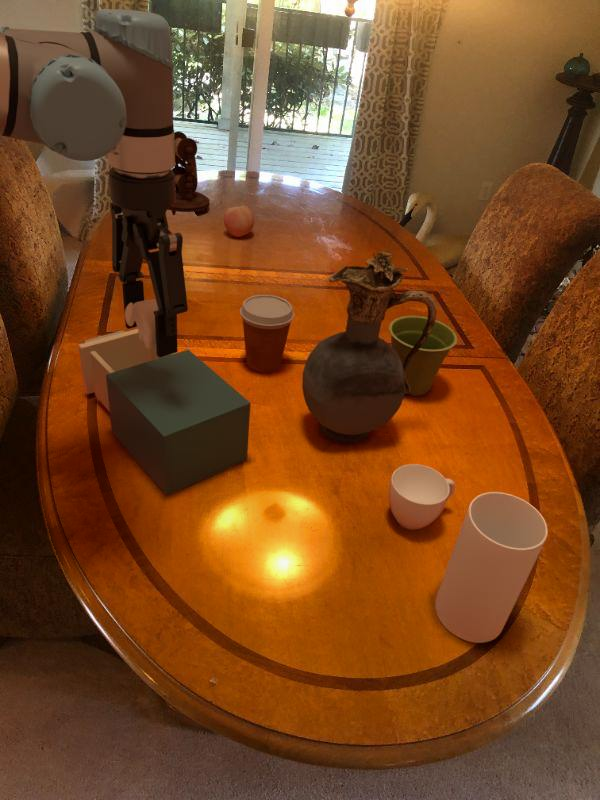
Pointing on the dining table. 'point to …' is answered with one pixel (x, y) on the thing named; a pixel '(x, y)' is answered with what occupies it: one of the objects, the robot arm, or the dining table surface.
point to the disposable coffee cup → (265, 331)
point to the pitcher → (362, 356)
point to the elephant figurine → (143, 320)
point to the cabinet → (178, 419)
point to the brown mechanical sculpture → (186, 177)
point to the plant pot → (421, 350)
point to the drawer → (111, 359)
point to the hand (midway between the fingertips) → (150, 338)
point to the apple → (239, 220)
